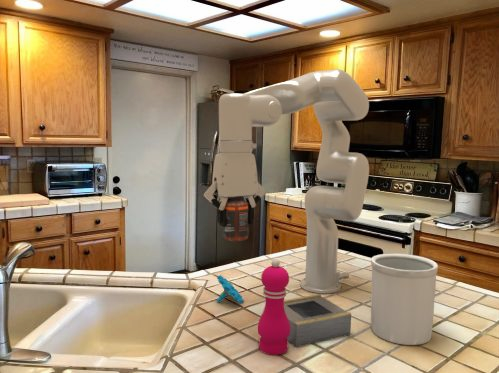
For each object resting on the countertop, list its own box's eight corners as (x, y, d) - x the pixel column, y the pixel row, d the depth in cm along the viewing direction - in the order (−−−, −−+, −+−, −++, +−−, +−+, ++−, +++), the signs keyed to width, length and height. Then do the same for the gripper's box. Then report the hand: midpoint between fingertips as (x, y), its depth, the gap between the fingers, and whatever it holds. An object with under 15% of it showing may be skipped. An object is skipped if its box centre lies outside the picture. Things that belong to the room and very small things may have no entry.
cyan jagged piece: (245, 303, 111) (219, 277, 111) (230, 319, 111) (203, 292, 111) (245, 294, 122) (221, 269, 122) (230, 308, 122) (206, 284, 122)
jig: (318, 313, 110) (319, 294, 109) (350, 334, 98) (351, 313, 98) (268, 323, 104) (269, 302, 103) (296, 347, 92) (296, 324, 91)
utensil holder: (355, 324, 104) (358, 255, 102) (401, 315, 110) (405, 250, 108) (397, 352, 91) (402, 274, 89) (447, 340, 97) (453, 266, 95)
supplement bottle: (251, 237, 101) (251, 190, 99) (243, 243, 95) (243, 194, 94) (228, 234, 103) (228, 189, 101) (219, 240, 97) (219, 193, 96)
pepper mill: (255, 340, 95) (257, 254, 93) (286, 339, 95) (289, 254, 93) (258, 356, 88) (260, 264, 85) (292, 355, 88) (295, 264, 86)
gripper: (261, 147, 103) (261, 218, 106) (194, 148, 96) (195, 224, 98) (276, 148, 97) (275, 224, 99) (205, 149, 89) (206, 231, 92)
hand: (235, 223), depth 99 cm, fingers closed on supplement bottle, 6 cm apart
